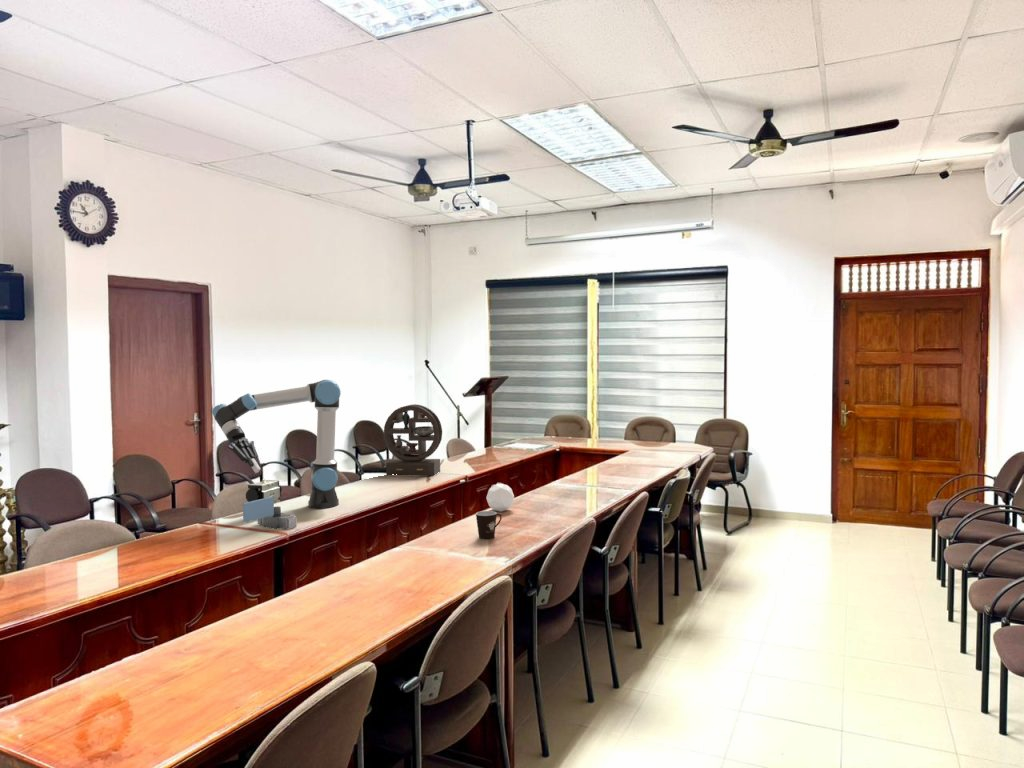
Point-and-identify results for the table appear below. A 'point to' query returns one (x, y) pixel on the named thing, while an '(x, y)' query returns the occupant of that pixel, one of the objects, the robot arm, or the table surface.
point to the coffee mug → (487, 524)
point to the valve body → (279, 521)
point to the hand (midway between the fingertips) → (258, 471)
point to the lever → (259, 509)
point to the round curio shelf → (406, 460)
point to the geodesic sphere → (500, 497)
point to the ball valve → (264, 490)
